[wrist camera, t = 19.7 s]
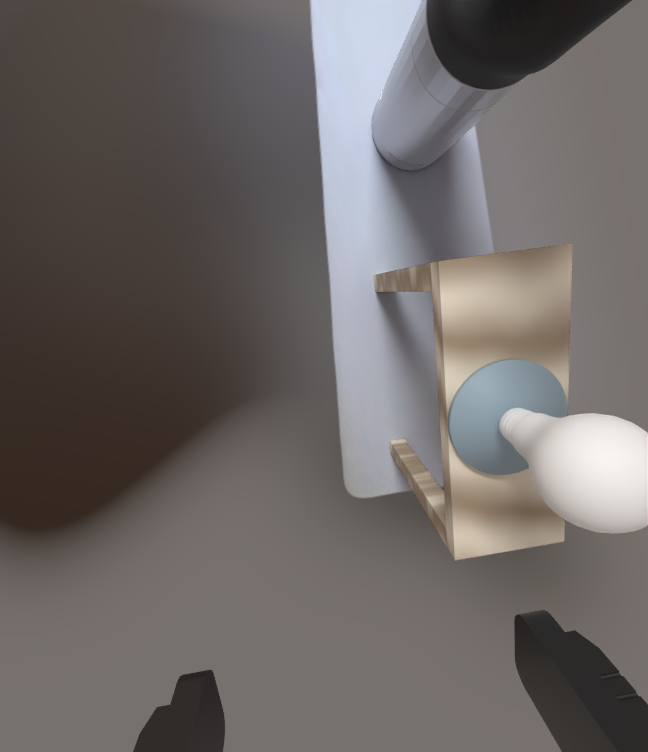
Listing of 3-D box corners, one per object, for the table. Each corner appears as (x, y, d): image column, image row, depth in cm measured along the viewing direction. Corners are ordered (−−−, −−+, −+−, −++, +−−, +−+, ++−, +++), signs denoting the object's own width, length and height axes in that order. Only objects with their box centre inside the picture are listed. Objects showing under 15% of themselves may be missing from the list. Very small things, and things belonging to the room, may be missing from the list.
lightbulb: (464, 457, 27) (572, 562, 17) (476, 378, 26) (602, 438, 15) (540, 458, 28) (692, 561, 17) (555, 381, 27) (731, 441, 16)
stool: (373, 275, 45) (441, 260, 24) (449, 265, 45) (579, 242, 24) (390, 454, 50) (458, 565, 30) (457, 443, 51) (569, 546, 30)
